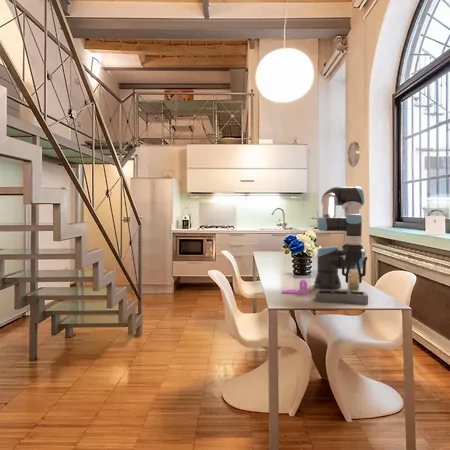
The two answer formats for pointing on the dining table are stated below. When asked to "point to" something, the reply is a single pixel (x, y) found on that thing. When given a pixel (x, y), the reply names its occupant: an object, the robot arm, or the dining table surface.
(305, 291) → the bracket
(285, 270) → the dining table surface
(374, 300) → the dining table surface
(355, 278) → the brass block
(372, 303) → the dining table surface
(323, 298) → the dark grey tray
